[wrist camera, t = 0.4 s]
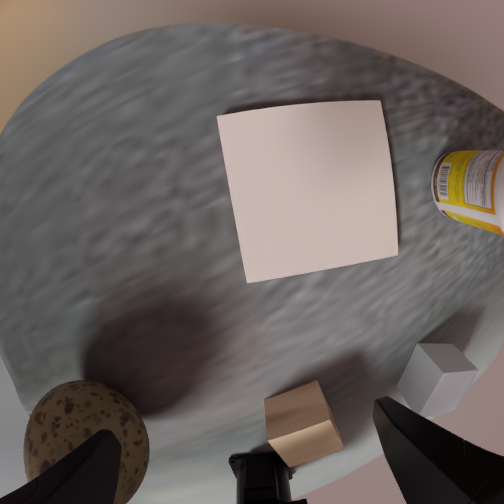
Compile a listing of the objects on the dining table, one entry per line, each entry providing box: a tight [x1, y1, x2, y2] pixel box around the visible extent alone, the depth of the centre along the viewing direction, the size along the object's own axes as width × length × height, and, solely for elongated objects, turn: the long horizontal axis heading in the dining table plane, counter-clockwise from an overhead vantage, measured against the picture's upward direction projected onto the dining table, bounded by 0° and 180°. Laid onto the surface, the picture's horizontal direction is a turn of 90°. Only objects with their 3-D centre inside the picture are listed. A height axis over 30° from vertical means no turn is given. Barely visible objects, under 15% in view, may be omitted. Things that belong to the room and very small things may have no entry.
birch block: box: [264, 380, 344, 467], centre depth 22 cm, size 5×5×5 cm
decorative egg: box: [24, 380, 149, 504], centre depth 16 cm, size 11×11×15 cm
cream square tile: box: [217, 100, 398, 283], centre depth 19 cm, size 11×11×1 cm
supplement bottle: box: [431, 150, 504, 236], centre depth 14 cm, size 6×6×10 cm
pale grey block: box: [396, 343, 478, 417], centre depth 21 cm, size 5×5×5 cm
